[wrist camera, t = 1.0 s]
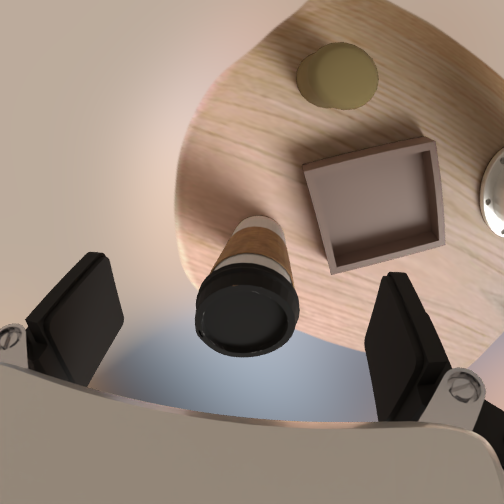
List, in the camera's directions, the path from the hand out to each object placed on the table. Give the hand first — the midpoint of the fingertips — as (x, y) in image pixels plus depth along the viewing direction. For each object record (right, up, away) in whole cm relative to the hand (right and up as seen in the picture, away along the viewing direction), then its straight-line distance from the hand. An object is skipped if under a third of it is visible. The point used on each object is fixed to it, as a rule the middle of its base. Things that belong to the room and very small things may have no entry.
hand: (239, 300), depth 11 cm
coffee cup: (+1, +3, +27) cm, 27 cm away
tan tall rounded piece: (+8, +19, +18) cm, 27 cm away
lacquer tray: (+14, +7, +23) cm, 28 cm away
